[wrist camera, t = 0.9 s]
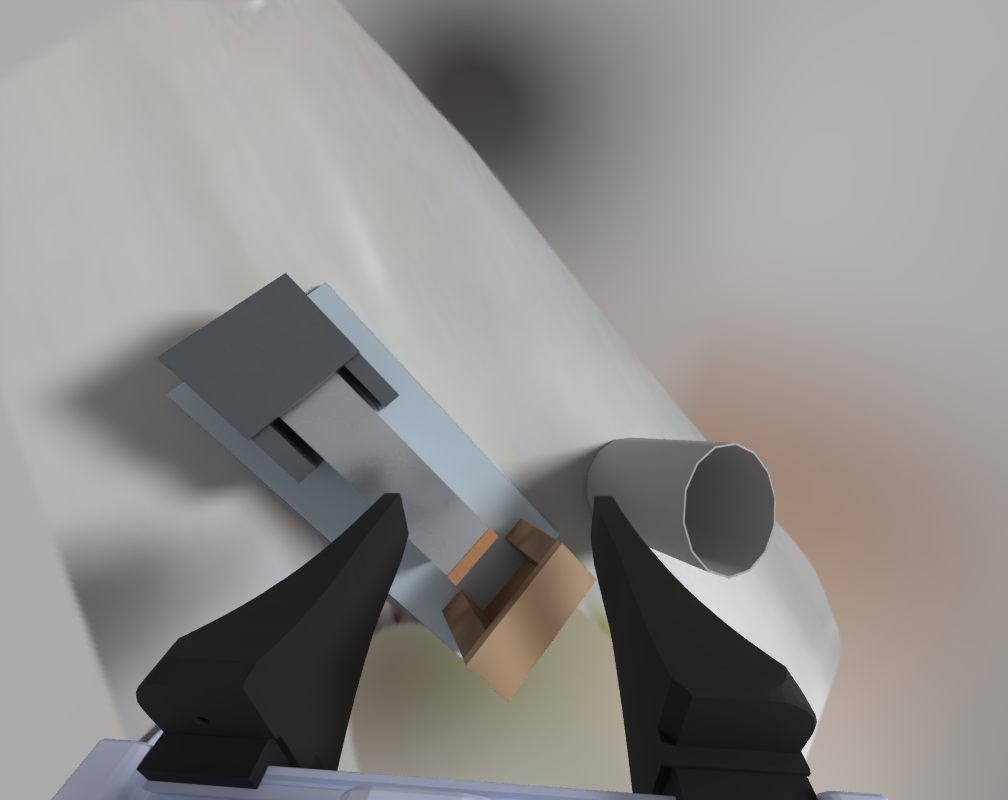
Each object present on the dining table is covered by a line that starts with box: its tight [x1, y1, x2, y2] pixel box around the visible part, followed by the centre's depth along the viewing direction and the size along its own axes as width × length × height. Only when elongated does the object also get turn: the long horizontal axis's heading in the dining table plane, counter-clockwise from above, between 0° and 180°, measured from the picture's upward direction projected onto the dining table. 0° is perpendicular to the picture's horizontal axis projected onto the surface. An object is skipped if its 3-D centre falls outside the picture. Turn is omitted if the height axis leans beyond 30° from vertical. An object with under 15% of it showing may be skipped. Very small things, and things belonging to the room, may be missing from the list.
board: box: [165, 283, 560, 658], centre depth 25 cm, size 11×25×1 cm, turn 44°
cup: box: [586, 438, 776, 578], centre depth 28 cm, size 8×8×10 cm
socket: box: [442, 519, 596, 702], centre depth 24 cm, size 8×4×6 cm, turn 134°
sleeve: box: [158, 273, 399, 483], centre depth 21 cm, size 6×8×6 cm
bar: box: [280, 372, 498, 585], centre depth 22 cm, size 4×17×5 cm, turn 44°
